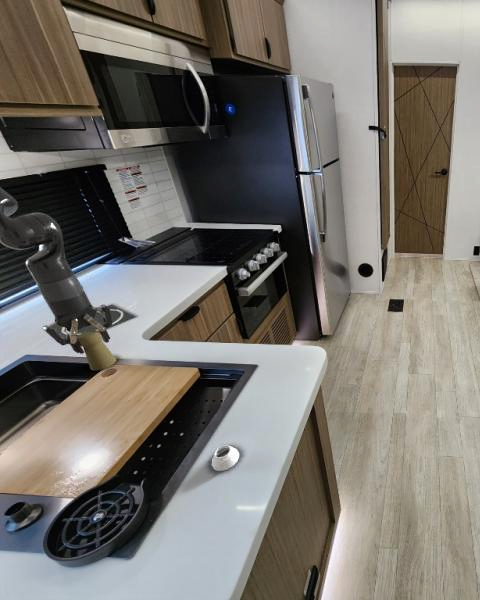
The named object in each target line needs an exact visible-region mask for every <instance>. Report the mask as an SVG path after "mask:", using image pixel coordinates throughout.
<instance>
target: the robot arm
mask: <svg viewBox="0 0 480 600" xmlns="http://www.w3.org/2000/svg"><path fill="white" fill-rule="evenodd" d="M18 209H19V202H18V201H17V200H16V198H14V196H12V195H11V194H10V193H9V192H7V191H6V190H5V189H4V188H2V187H1V186H0V243H1V244H2V245H3V246H5V247H7V248H9V249H12V250H15V251H22V250H29V249H32V248H35V247H38V251H37V252H36V253H35V254H33V255H32V256H30V257H28V258H27V259H26V260H25V266H26V268H27V270H28V271H29V273H30V275H31V277H32V279H33V280H34V282H35V284H36V285H37V288H38V291H39V292H40V293H39V294H41V296H42V298H43V299H44V301H45V303H46V304H47V306H48V308H49V309H50V312H51V313H52V314H53V316H54V322H52V323H50V324H48V325H47V324H46V325H43V326H42V330H43V331H44V332H45V333H47V335H48V336H49V337H51V338H52V339H53V340H54V341H55V342H56V343H57V344H59V345H61V346H66V345H70V347H71V348H72V351H74V352H75V353H77V354H80V355H82V354H85V351H84V348H83V347H82V346H80V344H79V342H77V341H76V337H77V330H79V329H82V328H83V327H86V326H90V325H91V324H92V325H93V326H94V327H96V328H97V329H98V332H100V333H101V335H102V342H103V343H104V344H105V343H106V344H107V343H110V340H111V337H110V335H109V333H108V331H107V330H108V329H109V328H108V327H109V326H112V319H111V313H110V308H109V307H108V306H109V305H106V304H100V306H93V305H92V302H91V301H90V299H89V297H88V296H87V295H88V294H87V293H86V292H85V289H84V286H83V285H82V284H81V282H80V280H79V279H78V278H77V276H76V275H75V273H74V272H73V270H72V268H71V266H70V263H69V262H68V260H67V258H66V250H65V245H64V244H65V243H64V238H63V231H62V228H61V226H60V225H59V223H58V221H56V219H54V218H53V217H52V216H50V215H48V213H47V214H46V213H43V212H32V213H26V214H23V215H18V216H13V217H12V216H11V215H13V214H14V213H16V212H17V211H18ZM10 216H11V217H10ZM97 311H98V312H99V313H100V314H102V319H103V323H102V324H100V323H98V322H97V321H96V320H94V318H95V315H96V313H97ZM58 326H62V327H65V328H66V333H67V338H65V337H63V336H62V335H60V334H59V333H57V331H58V328H57V327H58ZM112 327H113V326H112ZM107 328H108V329H107Z"/></svg>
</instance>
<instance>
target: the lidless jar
mask: <svg viewBox="0 0 480 600" xmlns="http://www.w3.org/2000/svg"><path fill="white" fill-rule="evenodd" d="M226 451H228V452H227V453H226V454H225V455H223V456H220V455H221V454H222V453H224V452H226ZM219 456H220V457H219ZM239 459H240V452H239V451H238V449H237V448H235V447H233V446H231V445H228V444H224V445H220V446H219V447H217V449H215V451H214V453H213V457H212V459H211V466H212V468H213V470H215V471H217V472H223V471H227V470H229V469H230V468H232V467H234V465H235V464H237V462H238V460H239Z"/></svg>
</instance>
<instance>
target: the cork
mask: <svg viewBox="0 0 480 600" xmlns="http://www.w3.org/2000/svg"><path fill="white" fill-rule="evenodd" d="M77 342H79V344H80V346H81V347H82V349H83V351H84V354H85V357H86V359H87V363H88V366H89V369H90V370H91V371H96V372H97V371H101V370H105V369H107V368H110V367H111V366H113V365H114V364H115V363H116V362H117V358H116V356H115V355H114V354H113V353H112V351H111V350H110V349H109V348H108V346H107V345H106V344H105V342H104V341H103V340H102V335H101V333H100V332H98V331H96V330H91V331H86V332H84V333H82V334H80V335H79V336H78V337H77Z"/></svg>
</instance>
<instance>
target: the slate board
mask: <svg viewBox="0 0 480 600" xmlns="http://www.w3.org/2000/svg"><path fill="white" fill-rule="evenodd" d="M107 306H108V307H109V308H110V313H111V319H112V326H109V327H108V328H107V329H106V330H108V329H110V328H112V327H115V326H117V325H119V324H120V325H121V324H122V323H124V322H126V321H130V320H131V319H134V318H136V315H133V314H131V313H129V312H127V311H125V310H123V309H121V308H119V307H116V306H115V305H113V304H110V305H107ZM94 320H96V321H97V322H98V323H100V324H102V323H103V319H102V314H100V313H99V312H98V311H97V313H96V315H95V318H94ZM57 328H58V331H57V332H56V333H57V334H59V335H60V336H61V337H62V338H67V333H66V328H65V327H62V326H58V327H57ZM91 330H96V331H98V329H97V328H96V327H94V326H93V325H92V324H91V325H90V326H86V327H83V328H82V329H79V330H77V337H78V336H79V335H80V334H82V333H84V332H86V331H91ZM77 337H76V341H77Z"/></svg>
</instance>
